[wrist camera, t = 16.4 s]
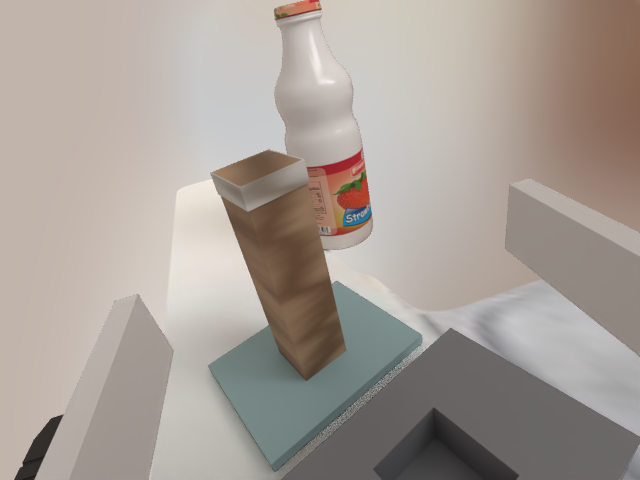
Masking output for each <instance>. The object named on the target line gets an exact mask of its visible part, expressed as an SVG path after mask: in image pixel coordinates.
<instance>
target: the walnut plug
mask: <svg viewBox="0 0 640 480" xmlns="http://www.w3.org/2000/svg"><path fill="white" fill-rule="evenodd" d="M211 176H212V179H213V182H214V184H215V187H216V190H217V192H218V194H219V195H220V196H221V198H222V200H223V203H224V206H225V208H226V211H227V214H228V216H229V219H230V222H231V224H232V227H233V230H234V232H235V235H236V238H237V240H238V243H239V246H240V248H241V251H242V254H243V256H244V259H245V262H246V264H247V267H248V270H249V272H250V275H251V278H252V280H253V283H254V286H255V288H256V291H257V294H258V296H259V299H260V302H261V304H262V307H263V310H264V312H265V315H266V318H267V320H268V323H269V326H270V328H271V331H272V334H273V336H274V339H275V342H276V344H277V347H278V350H279V352H280V353H281V354H282V355H283V356H284V358H285V359H286V360H287V361H288V362H289V363H290V364H291V365H292V366H293V367H294V369H295V370H296V371H297V372H298V373H299V374H300V375H301V376H302V377H303V378H304V379H305V381H308V380H309V379H310V378H311V377H313V376H314V375H315V374H317V373H318V372H319V371H321V370H322V369H323V368H324V367H326V366H327V365H328V364H330V363H331V362H332V361H334V360H335V359H336V358H337V357H339V356H340V355H341V354H343V353H344V352H345V351H347V350H346V346H345V341H344V337H343V333H342V328H341V324H340V320H339V315H338V311H337V307H336V302H335V298H334V294H333V289H332V285H331V281H330V276H329V272H328V268H327V264H326V259H325V255H324V251H323V246H322V242H321V238H320V233H319V229H318V225H317V220H316V216H315V212H314V207H313V203H312V199H311V194H310V190H309V186H308V183H310V181H309V176H308V172H307V168H306V163H305V159H302V158H298V157H295V156H291V155H288V154H284V153H280V152H277V151H273V150H270V149H268V150H266V151H263V152H261V153H259V154H256V155H254V156H251V157H248V158H246V159H243V160H241V161H238V162H236V163H233V164H231V165H229V166H226V167H224V168H221V169H219V170H216V171H214V172H211Z"/></svg>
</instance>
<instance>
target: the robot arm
mask: <svg viewBox="0 0 640 480" xmlns="http://www.w3.org/2000/svg"><path fill="white" fill-rule="evenodd" d="M505 249H506V250H508V251H509V252H510V253H511V254H512V255H514V256H515V257H516V258H517V259H518V260H520V261H521V262H522V263H523V264H525V265H526V266H527V267H528V268H530V269H531V270H532V271H533V272H535V273H536V274H537V275H538V276H540V277H541V278H542V279H543V280H545V281H546V282H547V283H548V284H550V285H551V286H552V287H553V288H555V289H556V290H557V291H558V292H560V293H561V294H562V295H563V296H565V297H566V298H567V299H568V300H570V301H571V302H572V303H573V304H575V305H576V306H577V307H578V308H580V309H581V310H582V311H583V312H585V313H586V314H587V315H588V316H590V317H591V318H592V319H593V320H595V321H596V322H597V323H598V324H600V325H601V326H602V327H603V328H605V329H606V330H607V331H608V332H610V333H611V334H612V335H613V336H615V337H616V338H617V339H618V340H620V341H621V342H622V343H623V344H625V345H626V346H627V347H628V348H630V349H631V350H632V351H633V352H635V353H636V354H637V355H638V356H640V233H639V232H637V231H635V230H633V229H631V228H629V227H627V226H625V225H623V224H620V223H619V222H616V221H615V220H612V219H610V218H609V217H607V216H605V215H602V214H600V213H599V212H596V211H594V210H592V209H590V208H588V207H586V206H584V205H582V204H580V203H578V202H576V201H574V200H572V199H570V198H568V197H566V196H564V195H562V194H560V193H558V192H556V191H554V190H552V189H550V188H548V187H546V186H544V185H542V184H540V183H538V182H536V181H534V180H532V179H530V178H529V179H526V180H523V181H519V182H516V183H512V184H510V185H509V198H508V211H507V225H506V240H505ZM173 351H174V350H173V348H172V347H171V345H170V344H169V342H168V341H167V339H166V337H165V336H164V334H163V333H162V331H161V329H160V328H159V326H158V325H157V324H156V322H155V320H154V318H153V317H152V315H151V314H150V312H149V310H148V309H147V307H146V306H145V304H144V303H143V301H142V299H141V298H140V296H139V295H138V294H136V295H133V296H130V297H126V298H123V299H119V300H116V301H115V302H114V304H113V306H112V309H111V310H110V313H109V315H108V317H107V320H106V322H105V324H104V326H103V328H102V330H101V333H100V335H99V337H98V340H97V342H96V344H95V346H94V348H93V351H92V353H91V355H90V357H89V359H88V362H87V364H86V366H85V369H84V371H83V373H82V375H81V377H80V380H79V382H78V384H77V386H76V388H75V391H74V393H73V395H72V397H71V399H70V402H69V404H68V406H67V409H66V411H65V413H64V414H63V415H61V416H57V417H54V418H51V419H50V421H49V422H48V423H47V424H46V426H45V427H44V428H43V429H42V431H41V432H40V433H39V434H38V435H37V437H36V438H35V439H34V441H33V443H32V445H31V447H30V449H29V451H28V453H27V455H26V457H25V459H24V461H23V467H21V468H20V469H19V471H18V473H17V475H16V477H15V479H14V480H148V479H149V475H150V469H151V464H152V459H153V454H154V449H155V444H156V439H157V433H158V428H159V423H160V418H161V413H162V408H163V403H164V397H165V392H166V387H167V382H168V377H169V372H170V366H171V361H172V356H173Z"/></svg>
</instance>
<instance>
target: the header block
mask: <svg viewBox="0 0 640 480" xmlns="http://www.w3.org/2000/svg"><path fill="white" fill-rule="evenodd" d="M639 444H640V437H639V436H637V435H635V434H634V433H632V432H630V431H629V430H627V429H625V428H623V427H622V426H620V425H618V424H616V423H615V422H613V421H611V420H609V419H608V418H606V417H604V416H603V415H601V414H599V413H597V412H596V411H594V410H592V409H590V408H589V407H587V406H585V405H584V404H582V403H580V402H578V401H577V400H575V399H573V398H571V397H570V396H568V395H566V394H564V393H563V392H561V391H559V390H558V389H556V388H554V387H552V386H551V385H549V384H547V383H545V382H544V381H542V380H540V379H538V378H537V377H535V376H533V375H532V374H530V373H528V372H526V371H525V370H523V369H521V368H519V367H518V366H516V365H514V364H512V363H511V362H509V361H507V360H506V359H504V358H502V357H500V356H499V355H497V354H495V353H493V352H492V351H490V350H488V349H486V348H485V347H483V346H481V345H480V344H478V343H476V342H474V341H473V340H471V339H469V338H467V337H466V336H464V335H462V334H461V333H459V332H457V331H455V330H454V329H452V328H450V329H449V330H448V331H447V332H445V333H444V334H443V335H442V336H441V337H440V338H439V339H438V340H437V341H435V342H434V343H433V344H432V345H431V346H430V347H429V348H428V349H426V350H425V351H424V352H423V353H422V354H421V355H420V356H419V357H418V358H416V359H415V360H414V361H413V362H412V363H411V364H410V365H409V366H407V367H406V368H405V369H404V370H403V371H402V372H401V373H400V374H399V375H397V376H396V377H395V378H394V379H393V380H392V381H391V382H390V383H388V384H387V385H386V386H385V387H384V388H383V389H382V390H381V391H380V392H378V393H377V394H376V395H375V396H374V397H373V398H372V399H371V400H369V401H368V402H367V403H366V404H365V405H364V406H363V407H362V408H361V409H359V410H358V411H357V412H356V413H355V414H354V415H353V416H352V417H351V418H349V419H348V420H347V421H346V422H345V423H344V424H343V425H342V426H340V427H339V428H338V429H337V430H336V431H335V432H334V433H333V434H332V435H330V436H329V437H328V438H327V439H326V440H325V441H324V442H323V443H321V444H320V445H319V446H318V447H317V448H316V449H315V450H314V451H313V452H311V453H310V454H309V455H308V456H307V457H306V458H305V459H304V460H302V461H301V462H300V463H299V464H298V465H297V466H296V467H295V468H294V469H292V470H291V471H290V472H289V473H288V474H287V475H286V476H285V477H283V478H282V479H281V480H622V478H623V477H624V475H625V473H626V471H627V469H628V467H629V464H630V462H631V460H632V458H633V456H634V454H635V452H636V450H637V448H638V446H639Z"/></svg>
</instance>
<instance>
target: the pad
mask: <svg viewBox="0 0 640 480" xmlns="http://www.w3.org/2000/svg"><path fill="white" fill-rule="evenodd" d="M331 285H332V289H333V294H334V298H335V302H336V307H337V311H338V315H339V320H340V324H341V328H342V333H343V337H344V341H345V346H346V350H347V351H345V352H344V353H343V354H341V355H340V356H339V357H337V358H336V359H335V360H334V361H332V362H331V363H330V364H328V365H327V366H326V367H324V368H323V369H322V370H321V371H319V372H318V373H317V374H315V375H314V376H313V377H311V378H310V379H309V380H308V381H305V379H304V378H303V377H302V376H301V375H300V374H299V373H298V372H297V371H296V370H295V369H294V367H293V366H292V365H291V364H290V363H289V362H288V361H287V360H286V359H285V358H284V356H283V355H282V354H281V353H280V352H279V350H278V347H277V344H276V342H275V339H274V336H273V334H272V331H271V328H270V326H267V327H266V328H264V329H263V330H261V331H260V332H258V333H257V334H255V335H254V336H252V337H251V338H249V339H248V340H246V341H245V342H243V343H242V344H240V345H239V346H237V347H236V348H234V349H232V350H231V351H229V352H228V353H226V354H225V355H223V356H222V357H220V358H219V359H217V360H216V361H214V362H213V363H211V364H210V365H208V367H209V369H210V371H211V372H212V374H213V376H214V377H215V379H216V380H217V382H218V383H219V385H220V387H221V388H222V390H223V391H224V393H225V394H226V396H227V398H228V399H229V401H230V402H231V404H232V405H233V407H234V409H235V410H236V412H237V413H238V415H239V416H240V418H241V420H242V421H243V423H244V424H245V426H246V427H247V429H248V431H249V432H250V434H251V435H252V437H253V438H254V440H255V442H256V443H257V445H258V446H259V448H260V449H261V451H262V453H263V454H264V456H265V457H266V459H267V460H268V462H269V464H270V465H271V467H272V468H273V470H274V471H276V470H278V469H279V468H280V467H281V466H282V465H283V464H284V463H286V462H287V461H288V460H289V459H290V458H291V457H292V456H294V455H295V454H296V453H297V452H298V451H299V450H300V449H302V448H303V447H304V446H305V445H306V444H307V443H308V442H309V441H311V440H312V439H313V438H314V437H315V436H316V435H317V434H319V433H320V432H321V431H322V430H323V429H324V428H325V427H327V426H328V425H329V424H330V423H331V422H332V421H333V420H335V419H336V418H337V417H338V416H339V415H340V414H341V413H343V412H344V411H345V410H346V409H347V408H348V407H349V406H351V405H352V404H353V403H354V402H355V401H356V400H357V399H359V398H360V397H361V396H362V395H363V394H364V393H365V392H367V391H368V390H369V389H370V388H371V387H372V386H373V385H375V384H376V383H377V382H378V381H379V380H380V379H381V378H383V377H384V376H385V375H386V374H387V373H388V372H389V371H391V370H392V369H393V368H394V367H395V366H396V365H397V364H399V363H400V362H401V361H402V360H403V359H404V358H405V357H407V356H408V355H409V354H410V353H411V352H412V351H413V350H415V349H416V348H417V347H418V346H419V345H420V344H421V343H422V335H421V334H420V333H418V332H416V331H415V330H413V329H412V328H410V327H409V326H407V325H406V324H404V323H402V322H401V321H399V320H398V319H396V318H395V317H393V316H391V315H390V314H388V313H387V312H385V311H384V310H382V309H380V308H379V307H377V306H376V305H374V304H373V303H371V302H369V301H368V300H366V299H365V298H363V297H362V296H360V295H358V294H357V293H355V292H354V291H352V290H351V289H349V288H347V287H346V286H344V285H343V284H341V283H340V282H338V281H336V282H334V283H333V284H331Z"/></svg>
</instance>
